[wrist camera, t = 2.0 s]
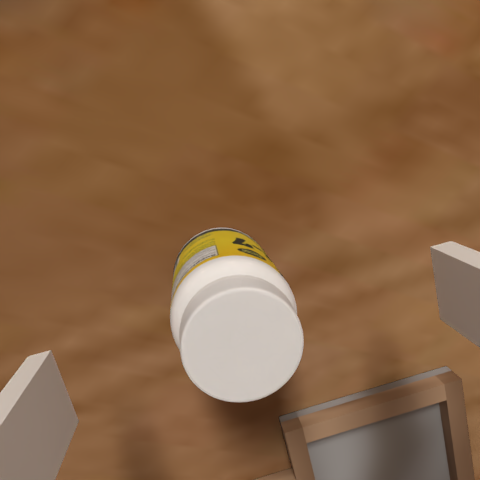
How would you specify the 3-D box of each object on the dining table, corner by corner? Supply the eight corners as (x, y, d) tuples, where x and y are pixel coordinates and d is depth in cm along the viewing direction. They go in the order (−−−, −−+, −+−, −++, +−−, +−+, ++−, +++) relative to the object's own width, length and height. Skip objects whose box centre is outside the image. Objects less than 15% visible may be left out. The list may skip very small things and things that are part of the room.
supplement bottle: (286, 275, 22) (345, 353, 14) (215, 333, 22) (234, 442, 14) (226, 205, 21) (254, 245, 13) (153, 267, 21) (134, 345, 13)
